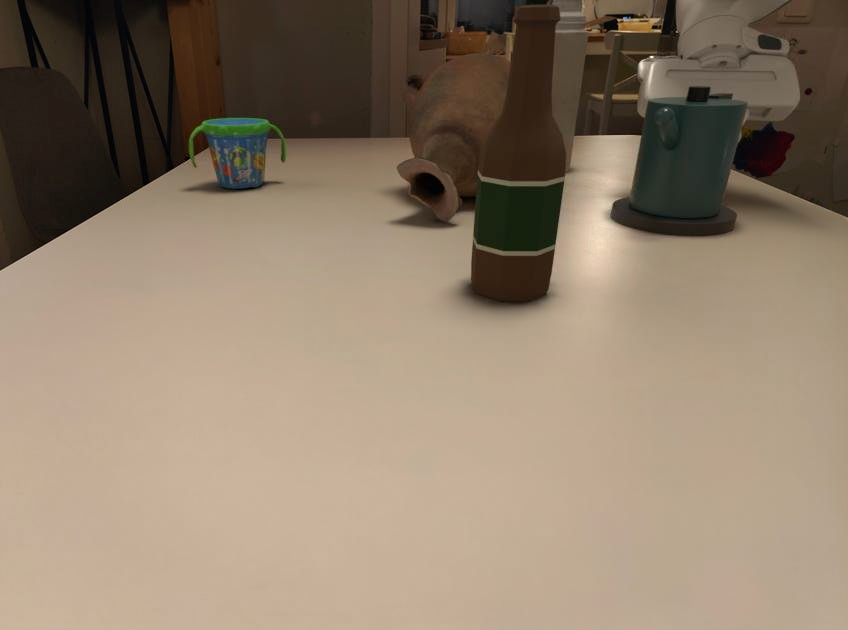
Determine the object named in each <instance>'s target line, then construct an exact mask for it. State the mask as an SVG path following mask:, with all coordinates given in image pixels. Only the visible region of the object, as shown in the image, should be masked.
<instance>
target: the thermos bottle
mask: <svg viewBox="0 0 848 630" xmlns="http://www.w3.org/2000/svg"><path fill="white" fill-rule="evenodd" d="M551 5H555V6H557V7H559V11H560V18H561V20H560V21H559V22H558V23H557V24H556V30H555V46H554V62H553V78H552V94H551V96H552V115H553V117H554V119H555V121H556V123H557V125H558V127H559V129H560V132H561V134H562V136H563V141H564V146H565V151H566V168H565V173H568V172H569V171H570V170H571V162H572V155H573V149H574V148H573V147H574V142H575V141H574V140H575V134H576V133H575V132H576V125H577V118H578V112H579V105H580V99H581V97H580V96H581V92H582V91H581V90H582V82H583V78H584V77H583V76H584V68H585V63H586V54H587V48H588V41H589V30H586V25H587V24H586V23H587V22H588V20H587V15H586V14H584V13H583V0H552V3H551Z"/></svg>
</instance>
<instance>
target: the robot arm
mask: <svg viewBox="0 0 848 630" xmlns="http://www.w3.org/2000/svg"><path fill="white" fill-rule="evenodd" d="M791 2H793V0H675V25H676V29H677V31H678V33H679V37H678V41H677V47H676V48H677V55H654V54H653V55H648V57H647V58H644V59H641V60H640V61H639V62H638V64H637V66H636V77H637V81H638V82H640V86H639V89H638V94H637V104H636V105H637V107H636V110H637V113H638V114H639V116H640V117H642V118H643V119H645V114H646V109H647V103H648V100H649V99H653V98H666V97H687V94H688V89H689V87H690V86H707V87H711V89H710V94H709V95H712V94H718V93H731V94H733V96H732V100H740V101H745V102H747V103H748V106H747V109H746V113H745V117H744V121H743V125H742V127H743V126H744V124H746V121H757V122H758V121H760V122H761V121H762V122H782V121H784V120H785V119H786V118H788V117H789V116H790V115H791V114H792V113H793V111H794V110H795V109H796V108H797V106H798V105H799V104H800V101H801V90H800V83H799V78H798V74H797V70H796V67H795V65H794V63H793V61H791V60H790V59H789V58H787V55H788V54H789V51H790V50H791V49H790V48H791V47H790V42H789V41H788V40H787V39H785V38H781V37H778V36H773V35H770V34H767V33H764V32H761V31H758V30H756V29H754V28H752V27H749V25H750V24H751V25H752V24H755V23H757V22H760V21H761V20H763V19H765V18H767V17H769V16H770V15H772V14H774V13H775V12H777V11H778V10H780V9H782V8H784V7H786V6H787V5H788V4H790V3H791ZM741 139H742V132H741V133H740V136H739V140H738V143H740V141H741Z"/></svg>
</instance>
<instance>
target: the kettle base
mask: <svg viewBox="0 0 848 630" xmlns="http://www.w3.org/2000/svg"><path fill="white" fill-rule="evenodd" d="M629 198H630V196H626V197H621V198H618V199H615V200H614V201H613V202H612V205H611V209H610V210H611V211H610V217H611V218H612V220H614V221H615V222H616V223H618V224H621V225H624V226H626V227H629V228H632V229H637V230H641V231H646V232H650V233H656V234H664V235H673V236H674V235H675V236H694V237H695V236H696V237H697V236H713V235H719V234H725V233H728V232H730V231H732V230H733V229H734V227H735V225H736V221H737V217H738V214H737V212H736V211H735V210H734V209H732V208H730V207H728V206H726V205H723V204H722V206H721V209H720V212H719V214H717V215H715V216H712V217H706V218H673V217H664V216H657V215H652V214H647V213H643V212H640V211H637V210H635V209H633V208H631V207H630V206H629Z"/></svg>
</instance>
